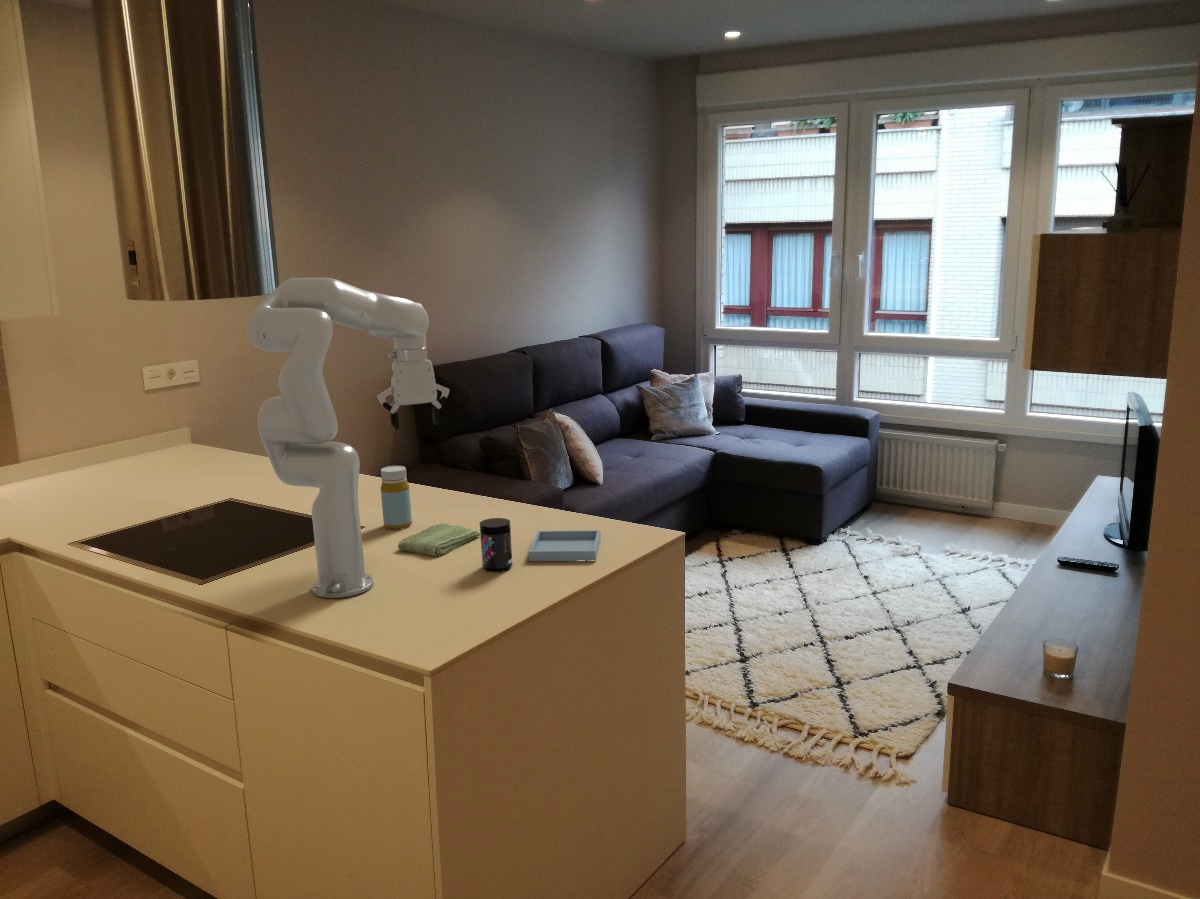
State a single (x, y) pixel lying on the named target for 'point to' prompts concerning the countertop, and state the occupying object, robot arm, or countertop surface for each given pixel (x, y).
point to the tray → (565, 545)
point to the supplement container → (496, 544)
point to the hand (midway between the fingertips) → (416, 426)
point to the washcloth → (437, 539)
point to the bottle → (395, 497)
